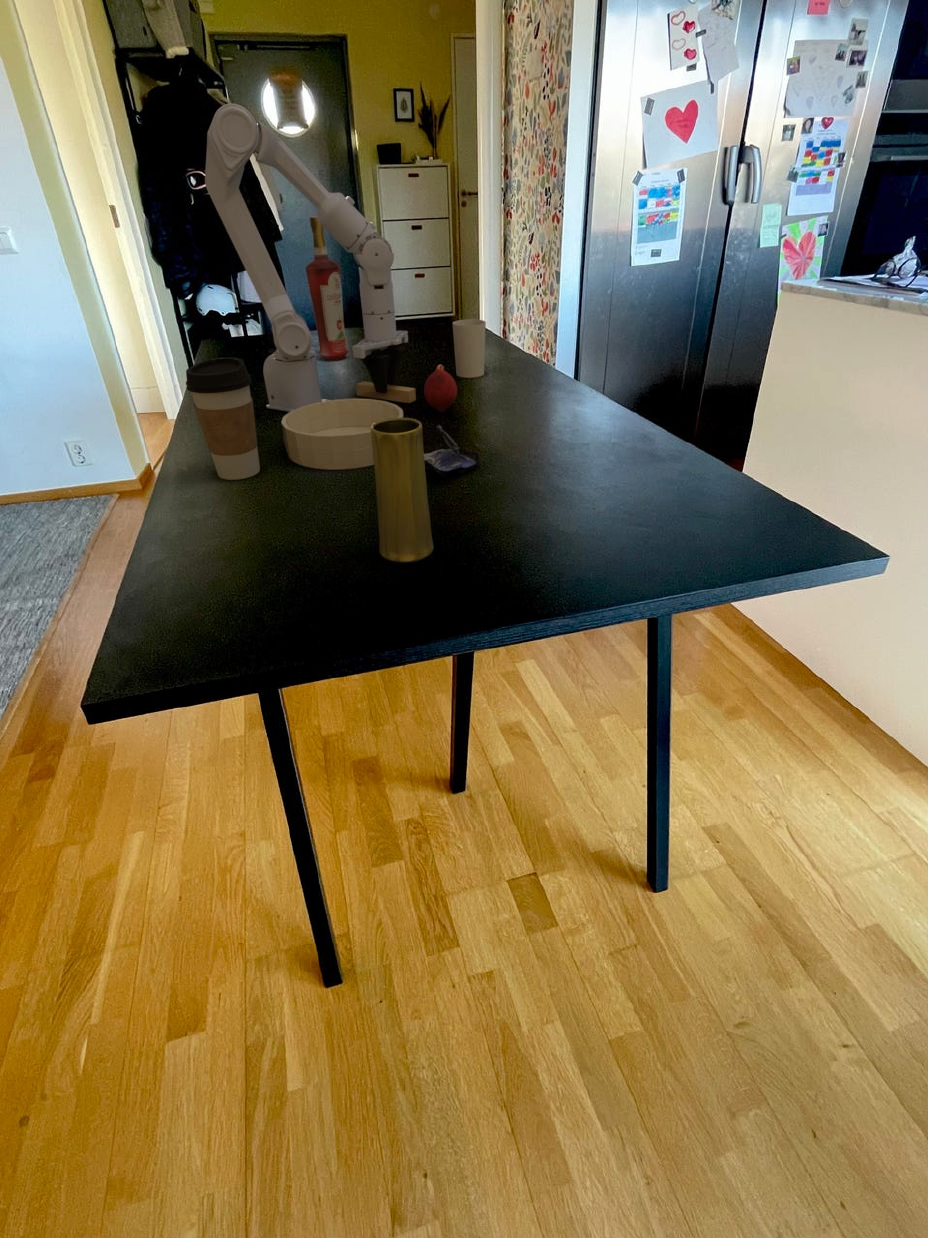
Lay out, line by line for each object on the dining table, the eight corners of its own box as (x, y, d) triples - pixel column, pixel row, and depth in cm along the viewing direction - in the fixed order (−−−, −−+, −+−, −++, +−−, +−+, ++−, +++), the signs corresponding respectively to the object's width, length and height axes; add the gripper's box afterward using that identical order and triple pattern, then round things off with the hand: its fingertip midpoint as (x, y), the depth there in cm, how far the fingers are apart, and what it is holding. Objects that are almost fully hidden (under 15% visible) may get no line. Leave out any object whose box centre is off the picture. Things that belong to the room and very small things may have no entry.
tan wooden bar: (357, 395, 127) (355, 383, 126) (364, 392, 129) (362, 381, 127) (409, 403, 122) (408, 391, 121) (416, 400, 124) (415, 388, 122)
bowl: (262, 457, 101) (255, 425, 98) (337, 423, 114) (333, 393, 111) (358, 477, 93) (354, 443, 90) (427, 438, 106) (425, 406, 103)
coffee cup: (280, 464, 98) (260, 358, 90) (247, 486, 91) (222, 373, 83) (232, 459, 100) (208, 355, 92) (196, 479, 94) (167, 370, 85)
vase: (380, 539, 77) (367, 417, 69) (432, 536, 78) (425, 414, 69) (378, 565, 72) (364, 436, 64) (435, 561, 72) (427, 433, 64)
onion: (453, 417, 114) (452, 369, 110) (421, 416, 115) (418, 368, 111) (460, 407, 119) (459, 361, 115) (429, 406, 120) (427, 360, 116)
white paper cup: (486, 377, 136) (485, 325, 130) (453, 378, 136) (452, 326, 130) (486, 369, 141) (485, 318, 135) (454, 370, 141) (453, 319, 136)
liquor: (334, 352, 158) (316, 215, 142) (356, 356, 154) (341, 215, 138) (311, 359, 153) (290, 217, 137) (334, 363, 149) (315, 218, 134)
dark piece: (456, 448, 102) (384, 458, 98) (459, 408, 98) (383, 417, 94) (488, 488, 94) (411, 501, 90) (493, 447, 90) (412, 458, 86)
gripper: (372, 320, 110) (380, 403, 118) (419, 306, 120) (424, 383, 128) (339, 317, 113) (348, 398, 121) (387, 304, 123) (393, 379, 131)
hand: (385, 390), depth 124 cm, fingers closed on tan wooden bar, 2 cm apart
